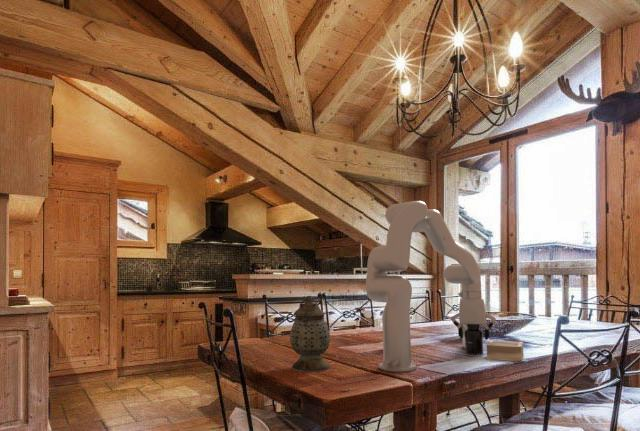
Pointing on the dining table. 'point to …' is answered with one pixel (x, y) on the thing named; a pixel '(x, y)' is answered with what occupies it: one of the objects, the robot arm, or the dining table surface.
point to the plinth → (505, 350)
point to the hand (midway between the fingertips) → (473, 338)
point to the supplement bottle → (473, 339)
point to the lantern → (309, 337)
